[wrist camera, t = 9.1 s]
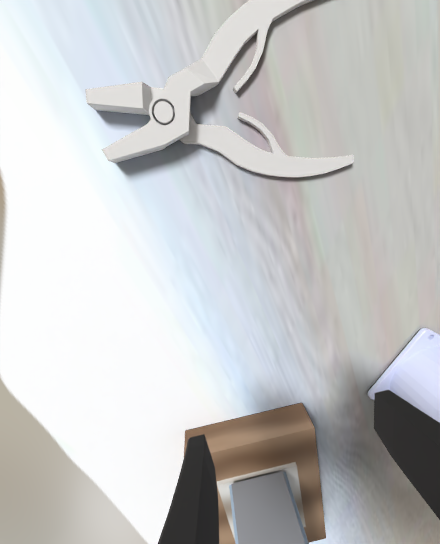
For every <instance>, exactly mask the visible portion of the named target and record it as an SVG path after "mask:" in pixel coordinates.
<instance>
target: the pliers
mask: <svg viewBox="0 0 440 544" xmlns="http://www.w3.org/2000/svg"><path fill="white" fill-rule="evenodd" d="M311 1H314V0H249V1H248V2H246V3H245V4H244V5H242V6H241V7H240V8H239V9H238V10H237V11H236V12H234V13H233V14H232V15H231V16H230V17H229V18H228V19H227V20H226V21H225V22H224V24H223V25H222V26H221V27H220V28H219V29H218V30H217V32H216V33H215V34H214V36H213V38H212V40H211V42H210V44H209V45H208V47H207V49H206V51H205V53H204V55H203V56H202V58H201V59H200V60H198V61H196V62H195V63H193V64H191V65H190V66H188V67H186V68H184V69H183V70H181V71H179V72H177V73H175V74H173V75H172V76H170V77H168V80H167V82H166V85H165V87H164V89H163V88H153V87H150V86H148V85H146V84H145V83H143V82H137V83H129V84H122V85H115V86H107V87H100V88H93V89H86V100H87V104H89V105H90V106H91V107H92V108H93V109H95V110H98V111H109V112H120V113H131V114H142V115H148V116H150V118H151V120H150V121H149V122H148V124H146V125H145V126H143V127H141V128H139V129H138V130H136V131H134V132H132V133H131V134H129V135H127V136H125V137H123V138H122V139H120V140H118V141H116V142H115V143H113V144H111V145H109V146H108V147H106V148H104V149H102V151H103V153H104V154H105V156H106V158H107V159H108V161H111V162H114V163H118V162H121V161H125V160H128V159H132V158H135V157H139V156H142V155H146V154H149V153H153V152H157V151H160V150H164V148H165V147H167V146H168V145H170V144H172V143H174V142H176V141H177V140H180V141H181V142H182V143H184V144H195V145H202V146H205V147H207V148H209V149H212V150H214V151H216V152H219V153H220V154H221V155H223V156H224V157H226V158H227V159H228V160H230V161H231V162H232V163H234V164H235V165H237V166H239V167H242V168H244V169H246V170H249V171H251V172H255V173H259V174H263V175H269V176H276V177H292V178H295V177H306V176H313V175H318V174H324V173H327V172H330V171H333V170H337V169H340V168H342V167H344V166H347V165H349V164H352V163H354V160H353V155H349V156H341V157H326V158H303V157H292V156H287V155H286V154H285V153H284V152H283V151H282V150H281V149H280V147H279V145H278V143H277V141H276V139H275V138H274V136H273V135H272V134H271V132H270V131H269V130H268V129H267V128H266V127H265V126H264V125H263V124H262V123H260V122H259V121H257V120H255V119H254V118H252V117H250V116H248V115H246V114H244V113H241V112H239V115H238V119H240V120H242V121H244V122H246V123H248V124H250V125H251V126H253V127H254V128H256V129H257V130H259V131H260V133H261V134H262V135H263V136H264V138H265V139H266V140H267V142H268V145H269V148H270V150H271V153H270V152H267V151H264V150H261V149H259V148H257V147H256V146H254V145H253V144H251V143H249V142H248V141H246V140H245V139H243V138H242V137H241V136H239V135H238V134H236V133H235V132H233V131H232V130H231V129H229V128H228V127H224V126H213V125H202V124H196V122H195V120H194V118H193V116H192V114H191V112H190V102H191V96H199V95H201V94H203V93H204V92H206V91H208V90H210V89H211V88H213V87H215V86H217V85H218V84H219V83H220V81H221V79H222V78H223V76H224V74H225V73H226V71H227V70H228V68H229V66H230V65H231V63H232V62H233V60H234V59H235V57H236V56H237V54H238V53H239V51H240V50H241V48H242V47H243V46H244V44H245V43H246V42H247V41H249V40H250V39H251V38H252V37H253V36H254V35H255V34H256V33H257V39H256V53H255V55H254V58H253V61H252V64H251V66H250V67H249V69H248V70H247V72H246V73H245V75H244V76H243V77H242V78H241V80H240V81H239V82H238V83H237V84H236V85H235V86H234V88H233V91H234V92H235V94H236V93H237V92H238V91H239V90H240V88H241V87H242V86H243V85H244V84H245V83H246V82H247V80H248V79H249V78H250V76H251V75H252V73H253V72H254V71H255V69H256V66H257V64H258V62H259V59H260V57H261V54H262V52H263V49H264V44H265V40H266V35H267V31H268V28H269V26H270V24H271V22H273V21H275V20H276V19H278V18H280V17H281V16H283V15H285V14H286V13H288V12H290V11H292V10H294V9H295V8H297V7H299V6H302V5H304V4H306V3H309V2H311Z"/></svg>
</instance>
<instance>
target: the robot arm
mask: <svg viewBox="0 0 440 544" xmlns="http://www.w3.org/2000/svg"><path fill="white" fill-rule="evenodd" d="M368 396H369V397H370V398H371V399H372V400H374V429H375V431H376V432H377V434H378V436H379V437H380V439H381V440H382V442H383V444H384V445H385V447H386V448H387V450H388V452H389V453H390V455H391V456H392V458H393V459H394V460H395V462H396V463H397V464H398V466H399V467H400V468H401V470H402V471H403V472H404V474H405V475H406V476H407V478H408V479H409V480H410V482H411V483H412V484H413V486H414V487H415V488H416V489H417V491H418V492H419V493H420V495H421V496H422V497H423V499H424V500H425V501H426V503H427V504H428V505H429V506H430V508H431V509H432V510H433V512H434V513H435V514H436V516H437V517H438V518H439V520H440V335H439V334H437V333H435V332H433V331H431V330H430V329H428V328H422V329H421V330H419V332H418V333H417V334H416V335H415V336H414V338H413V339H412V340H411V341H410V342H409V343H408V345H407V346H406V347H405V348H404V349H403V351H402V352H401V353H400V354H399V355H398V357H397V358H396V359H395V360H394V361H393V363H392V364H391V365H390V366H389V367H388V369H387V370H386V371H385V372H384V373H383V374H382V376H381V377H380V378H379V379H378V380H377V382H376V383H375V384H374V385H373V386H372V388H371V389H370V390H369V391H368ZM158 544H219V507H218V492H217V482H216V472H215V466H214V463H213V460H212V456H211V453H210V450H209V447H208V444H207V441H206V437H205V434H203V435H199V436H194V437H190V438H189V439H188V442H187V447H186V452H185V456H184V460H183V464H182V468H181V472H180V476H179V479H178V483H177V486H176V490H175V493H174V496H173V500H172V503H171V506H170V509H169V513H168V516H167V519H166V521H165V524H164V527H163V530H162V533H161V536H160V539H159V542H158Z"/></svg>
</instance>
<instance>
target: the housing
mask: <svg viewBox="0 0 440 544" xmlns="http://www.w3.org/2000/svg"><path fill="white" fill-rule="evenodd" d="M229 490H230V499H231V508H232V517H233V526H234V535H235V544H309V543H308V540H307V536H306V533H305V530H304V527H303V524H302V521H301V518H300V515H299V512H298V508H297V505H296V502H295V499H294V496H293V493H292V490H291V487H290V483H289V480H288V477H287V474H286V471H285V472H283V471H282V472H278V473H273V474H269V475H265V476H261V477H257V478H253V479H249V480H245V481H241V482H237V483H233V484H231V485H229Z"/></svg>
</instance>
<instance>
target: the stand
mask: <svg viewBox="0 0 440 544" xmlns="http://www.w3.org/2000/svg"><path fill="white" fill-rule="evenodd" d="M203 434H205V437H206V441H207V444H208V447H209V450H210V453H211V456H212V460H213V463H214V466H215V472H216V482H217V492H218V507H219V544H235V535H234V526H233V517H232V508H231V499H230V490H229V485H231V484H233V483H237V482H241V481H245V480H249V479H253V478H257V477H261V476H265V475H269V474H273V473H278V472H282V471H283V472H285V471H286V474H287V477H288V480H289V483H290V487H291V490H292V493H293V496H294V499H295V502H296V505H297V508H298V512H299V515H300V518H301V521H302V524H303V527H304V530H305V533H306V536H307V540H308V543H309V542H313V541H317V540H320V539H324V538H326V533H325V523H324V514H323V504H322V494H321V485H320V475H319V465H318V456H317V446H316V436H315V428H314V426H313V424H312V422H311V420H310V418H309V416H308V414H307V412H306V410H305V408H304V406H303V404H302V403H299V404H294V405H290V406H286V407H282V408H278V409H274V410H269V411H265V412H261V413H257V414H253V415H249V416H245V417H240V418H236V419H232V420H228V421H224V422H220V423H215V424H211V425H207V426H203V427H199V428H195V429H191V430H186V431H185V447H184V456H185V452H186V447H187V442H188V439H189V438H190V437H194V436H199V435H203Z"/></svg>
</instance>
